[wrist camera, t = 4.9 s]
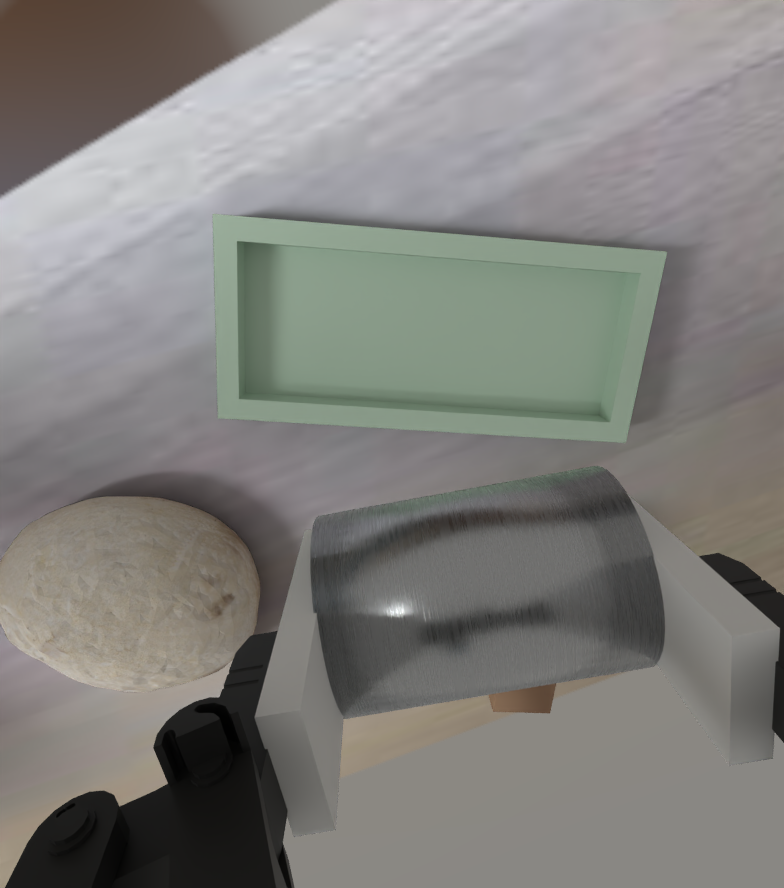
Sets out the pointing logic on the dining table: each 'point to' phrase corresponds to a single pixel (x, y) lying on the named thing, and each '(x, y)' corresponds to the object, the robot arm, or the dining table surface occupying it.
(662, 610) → the roller
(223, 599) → the stone
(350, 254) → the tray
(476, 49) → the dining table surface
